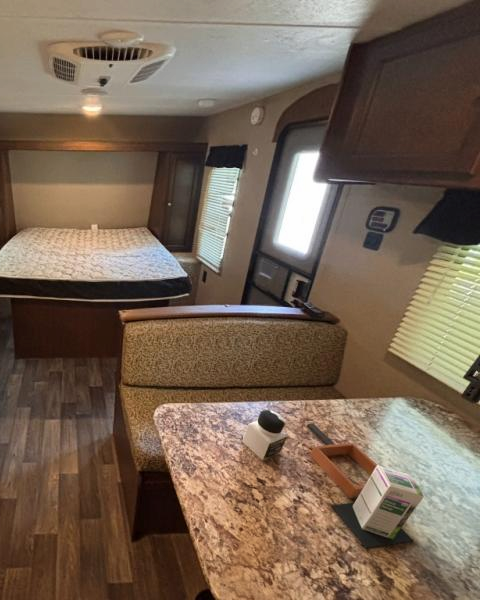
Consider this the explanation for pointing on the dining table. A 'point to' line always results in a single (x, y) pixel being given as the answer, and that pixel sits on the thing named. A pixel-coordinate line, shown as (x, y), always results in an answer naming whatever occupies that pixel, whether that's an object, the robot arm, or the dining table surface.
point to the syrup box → (387, 501)
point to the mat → (366, 536)
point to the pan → (337, 449)
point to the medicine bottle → (266, 435)
